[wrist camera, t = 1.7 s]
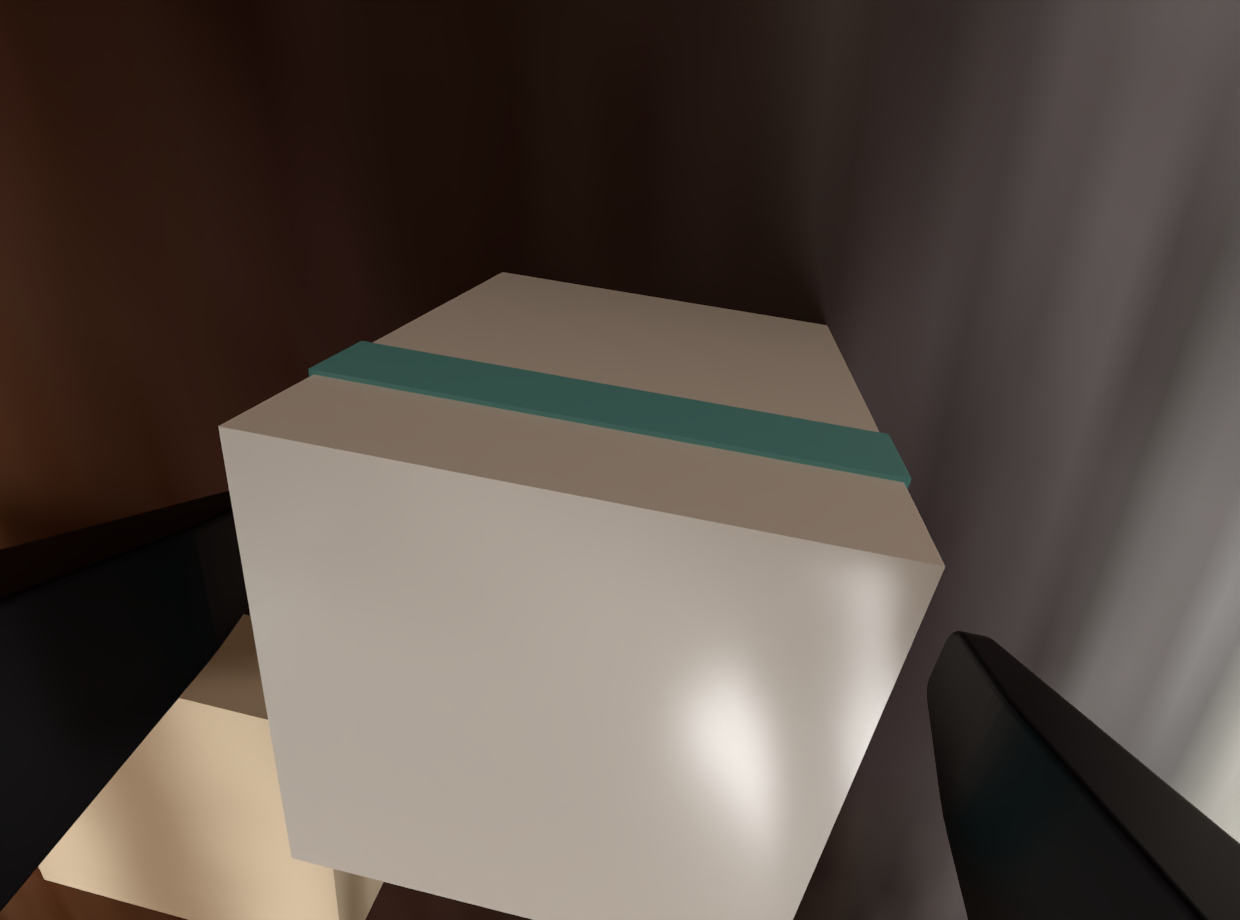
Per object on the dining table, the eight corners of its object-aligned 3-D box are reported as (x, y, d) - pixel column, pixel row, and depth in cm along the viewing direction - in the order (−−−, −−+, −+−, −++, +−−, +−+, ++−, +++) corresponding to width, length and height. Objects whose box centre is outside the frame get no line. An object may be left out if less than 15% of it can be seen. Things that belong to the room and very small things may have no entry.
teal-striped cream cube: (830, 322, 11) (954, 563, 5) (755, 593, 13) (770, 981, 7) (500, 268, 11) (211, 419, 5) (489, 539, 14) (287, 859, 8)
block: (387, 634, 16) (316, 731, 13) (396, 854, 20) (343, 963, 18) (60, 559, 17) (-68, 637, 14) (132, 786, 21) (44, 879, 18)
